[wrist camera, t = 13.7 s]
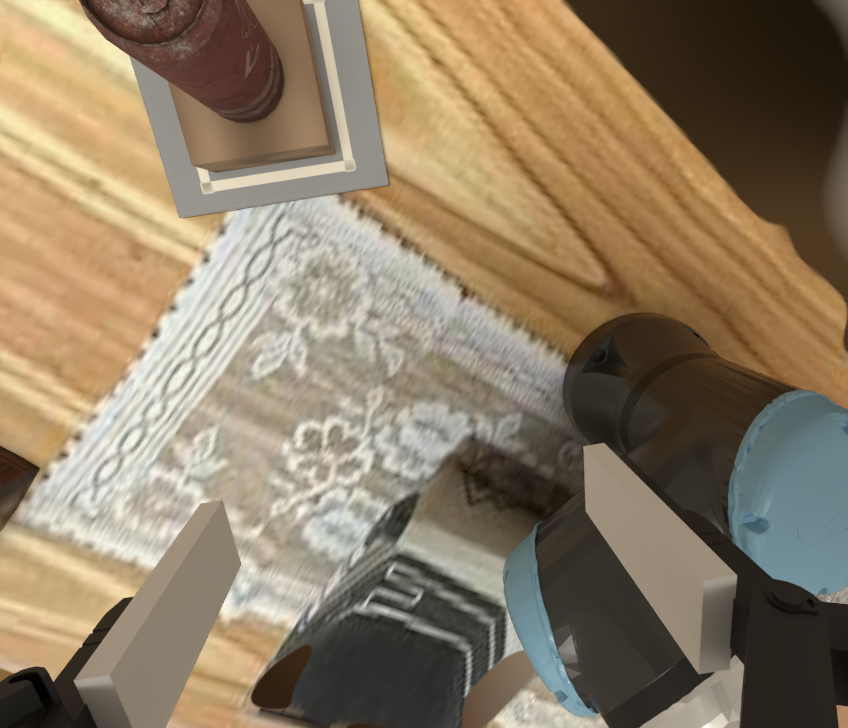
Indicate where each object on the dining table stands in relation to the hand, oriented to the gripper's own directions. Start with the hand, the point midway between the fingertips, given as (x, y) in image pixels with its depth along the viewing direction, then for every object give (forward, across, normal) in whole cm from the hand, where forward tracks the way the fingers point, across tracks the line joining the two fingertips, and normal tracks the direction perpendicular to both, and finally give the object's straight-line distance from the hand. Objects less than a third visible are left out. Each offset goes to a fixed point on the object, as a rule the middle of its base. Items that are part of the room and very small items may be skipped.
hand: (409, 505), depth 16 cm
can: (+22, +8, -21) cm, 32 cm away
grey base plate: (+28, +8, -21) cm, 36 cm away
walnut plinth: (+28, +8, -21) cm, 36 cm away
